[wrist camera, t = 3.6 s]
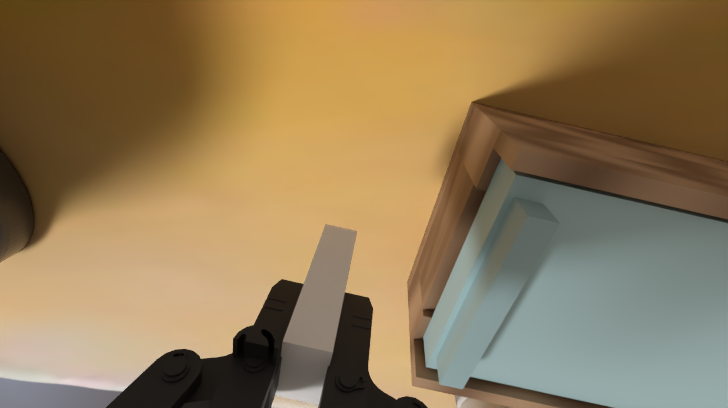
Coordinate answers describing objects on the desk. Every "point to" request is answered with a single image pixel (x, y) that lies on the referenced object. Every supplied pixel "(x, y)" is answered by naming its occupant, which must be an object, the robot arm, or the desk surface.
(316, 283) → the robot arm
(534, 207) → the cover plate
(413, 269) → the box
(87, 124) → the desk surface
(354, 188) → the desk surface
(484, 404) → the travel mug
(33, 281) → the desk surface
